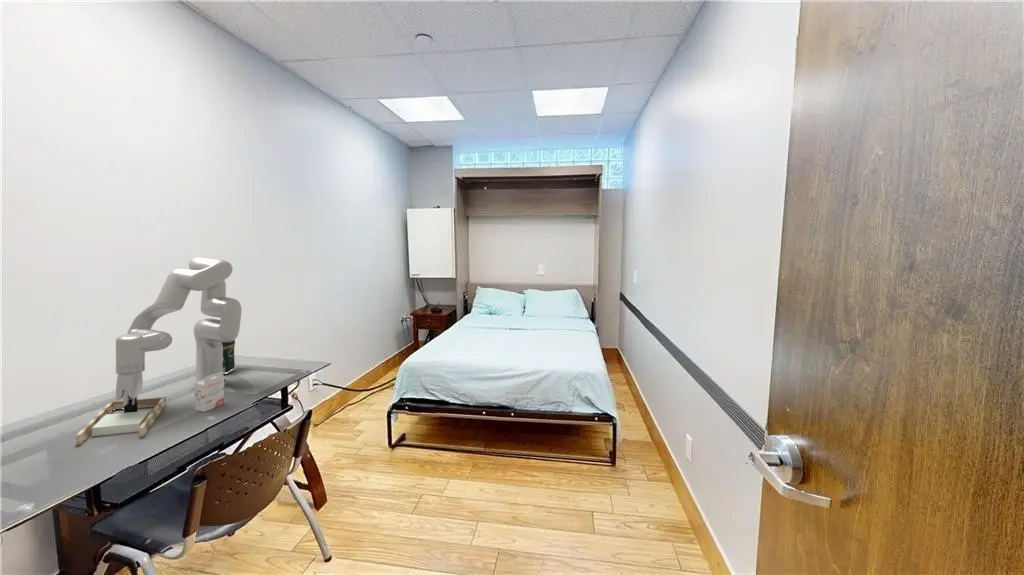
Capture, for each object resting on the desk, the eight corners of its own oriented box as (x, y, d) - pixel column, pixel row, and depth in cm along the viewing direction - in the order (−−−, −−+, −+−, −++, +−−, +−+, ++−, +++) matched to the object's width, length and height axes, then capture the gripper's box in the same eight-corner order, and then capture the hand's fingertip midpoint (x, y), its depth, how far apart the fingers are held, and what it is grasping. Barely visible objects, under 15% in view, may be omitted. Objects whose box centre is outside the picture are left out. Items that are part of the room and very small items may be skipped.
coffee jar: (220, 368, 191) (220, 334, 189) (237, 369, 193) (238, 335, 191) (208, 375, 182) (209, 339, 180) (226, 376, 183) (227, 340, 181)
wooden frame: (110, 409, 143) (110, 401, 143) (165, 404, 151) (165, 396, 151) (76, 445, 121) (75, 435, 121) (142, 437, 129) (142, 427, 129)
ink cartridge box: (214, 401, 158) (215, 368, 157) (224, 403, 157) (224, 370, 156) (193, 410, 150) (194, 375, 148) (203, 412, 149) (204, 377, 147)
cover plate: (105, 423, 135) (105, 414, 135) (150, 419, 141) (150, 410, 140) (91, 437, 126) (91, 427, 126) (139, 432, 132) (139, 423, 132)
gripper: (124, 361, 142) (125, 406, 145) (107, 375, 130) (108, 424, 132) (151, 360, 146) (151, 404, 148) (136, 374, 133) (136, 421, 136)
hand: (130, 413), depth 140 cm, fingers closed
